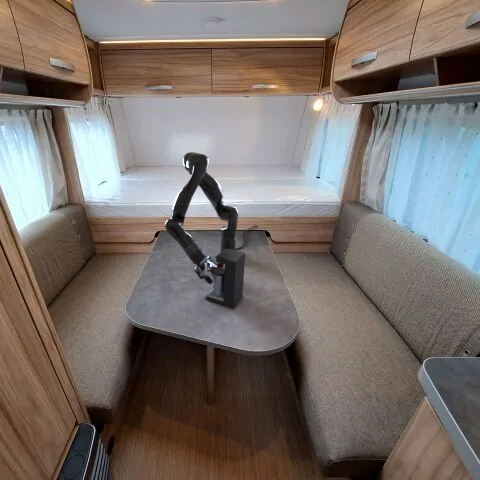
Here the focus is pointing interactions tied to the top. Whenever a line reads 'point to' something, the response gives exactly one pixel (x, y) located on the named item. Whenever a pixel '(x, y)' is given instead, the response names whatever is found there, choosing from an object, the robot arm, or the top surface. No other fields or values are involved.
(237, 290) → the coffee maker
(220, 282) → the lidded canister
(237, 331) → the top surface
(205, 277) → the robot arm
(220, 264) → the mug
